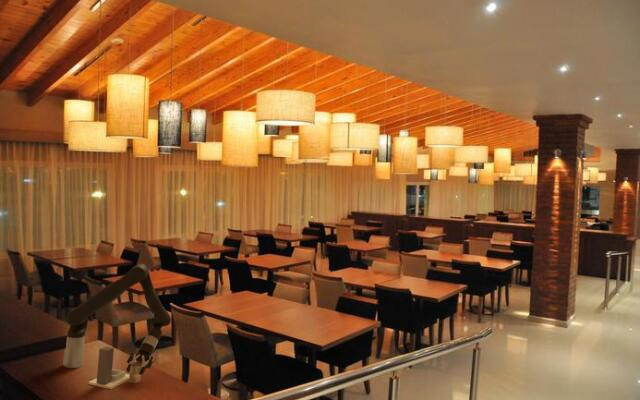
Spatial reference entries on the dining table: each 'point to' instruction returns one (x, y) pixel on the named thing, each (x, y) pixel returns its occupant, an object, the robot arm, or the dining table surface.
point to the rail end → (135, 372)
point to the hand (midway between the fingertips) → (133, 372)
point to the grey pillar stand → (108, 371)
